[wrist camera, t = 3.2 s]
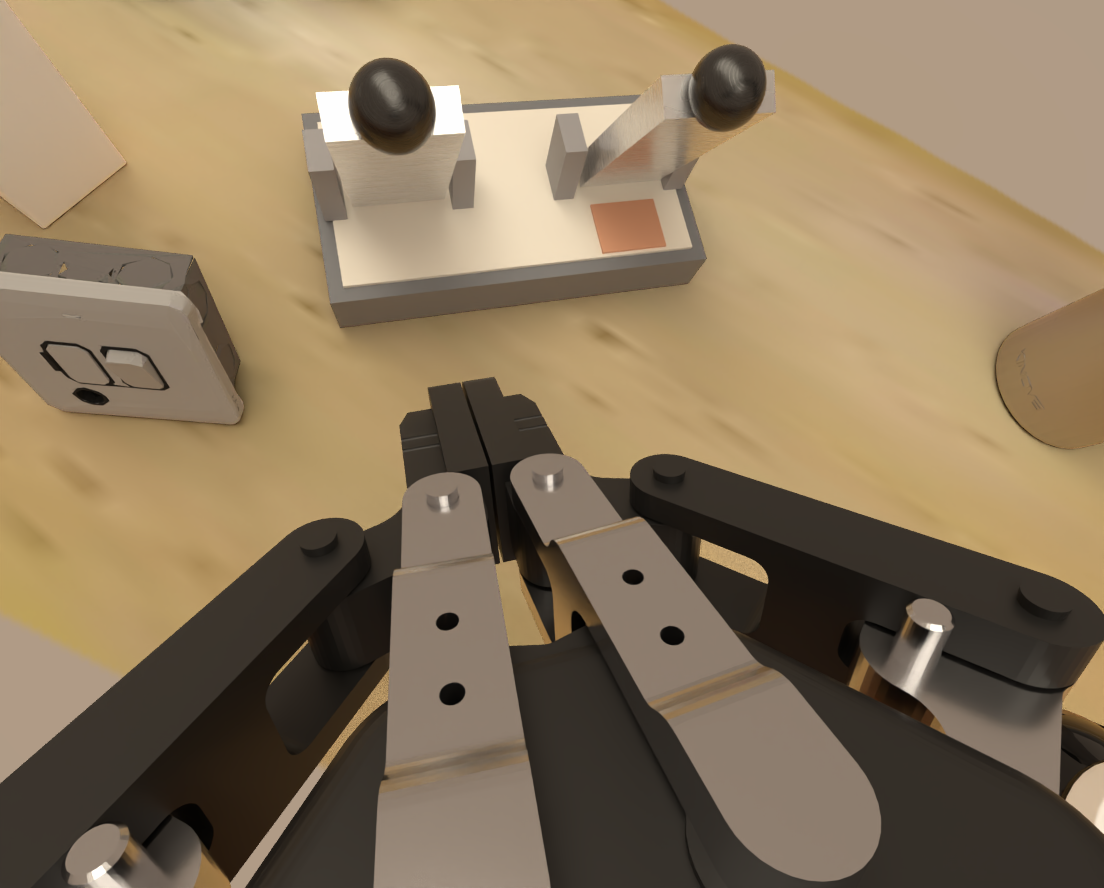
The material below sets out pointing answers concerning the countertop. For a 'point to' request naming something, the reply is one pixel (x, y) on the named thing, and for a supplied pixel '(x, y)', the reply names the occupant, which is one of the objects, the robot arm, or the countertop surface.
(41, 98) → the milk
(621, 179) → the lever inner
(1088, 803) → the spread jar
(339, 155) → the lever outer
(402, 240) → the switch panel
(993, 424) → the countertop surface
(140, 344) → the electrical switch
